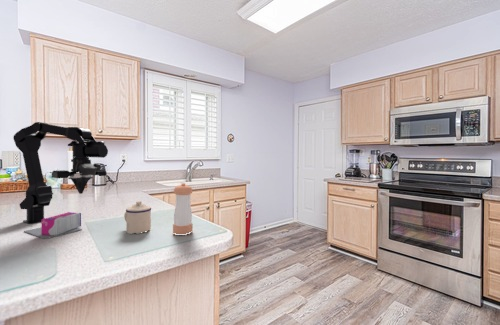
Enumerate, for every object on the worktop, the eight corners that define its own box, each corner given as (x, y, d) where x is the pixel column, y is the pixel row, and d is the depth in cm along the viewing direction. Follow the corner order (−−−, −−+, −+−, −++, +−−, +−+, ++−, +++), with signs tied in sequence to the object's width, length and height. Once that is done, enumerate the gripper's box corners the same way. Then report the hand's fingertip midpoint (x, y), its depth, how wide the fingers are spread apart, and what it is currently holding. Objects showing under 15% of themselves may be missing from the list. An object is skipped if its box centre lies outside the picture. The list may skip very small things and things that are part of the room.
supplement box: (81, 212, 96) (55, 220, 85) (81, 226, 96) (55, 236, 85) (68, 211, 97) (40, 219, 85) (68, 225, 97) (40, 235, 86)
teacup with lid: (156, 229, 96) (156, 200, 95) (137, 235, 87) (137, 204, 87) (134, 225, 100) (134, 198, 100) (114, 231, 92) (115, 201, 92)
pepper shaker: (168, 234, 90) (169, 183, 89) (181, 229, 96) (181, 182, 96) (184, 237, 87) (185, 185, 86) (196, 231, 94) (196, 183, 93)
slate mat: (24, 231, 90) (24, 230, 90) (61, 224, 100) (61, 223, 100) (44, 239, 82) (44, 238, 82) (81, 230, 93) (81, 229, 93)
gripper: (64, 157, 89) (64, 198, 89) (113, 157, 105) (113, 192, 106) (50, 156, 95) (50, 195, 95) (99, 157, 111) (99, 190, 111)
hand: (80, 193), depth 101 cm, fingers closed
